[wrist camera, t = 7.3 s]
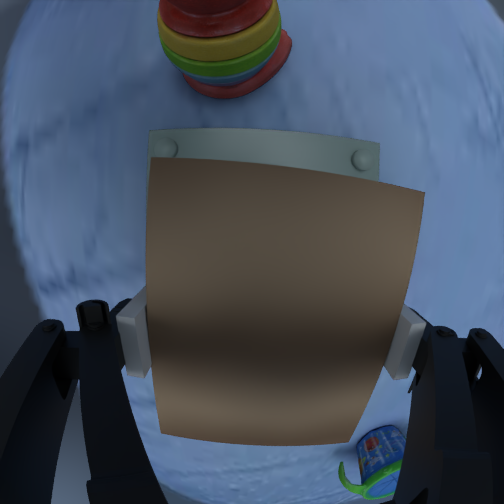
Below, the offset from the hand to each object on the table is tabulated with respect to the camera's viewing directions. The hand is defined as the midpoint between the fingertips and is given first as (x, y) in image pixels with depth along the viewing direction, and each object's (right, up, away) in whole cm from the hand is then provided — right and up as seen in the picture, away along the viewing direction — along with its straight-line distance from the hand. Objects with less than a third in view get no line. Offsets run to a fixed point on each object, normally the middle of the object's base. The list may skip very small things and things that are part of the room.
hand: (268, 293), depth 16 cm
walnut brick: (0, 0, 0) cm, 0 cm away
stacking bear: (-3, +22, +7) cm, 23 cm away
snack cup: (+20, -28, +19) cm, 39 cm away
